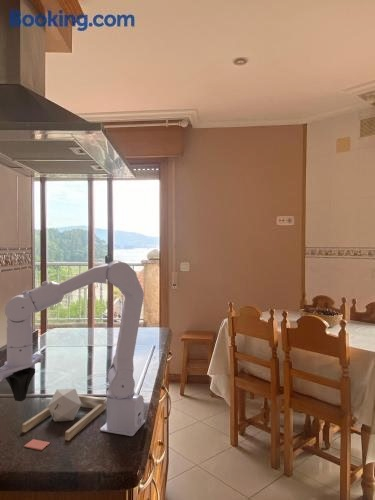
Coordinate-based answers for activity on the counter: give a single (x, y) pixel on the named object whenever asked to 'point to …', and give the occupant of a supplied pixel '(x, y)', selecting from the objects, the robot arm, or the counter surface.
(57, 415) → the die
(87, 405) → the channel
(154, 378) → the counter surface
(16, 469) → the counter surface
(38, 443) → the mat
